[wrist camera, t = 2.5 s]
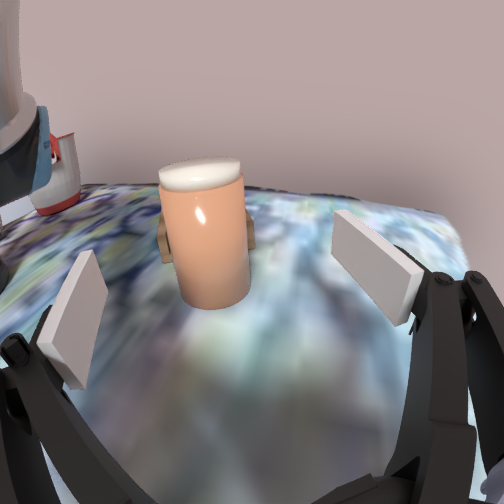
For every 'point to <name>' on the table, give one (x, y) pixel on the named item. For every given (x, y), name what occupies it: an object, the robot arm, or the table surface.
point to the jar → (207, 230)
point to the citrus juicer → (59, 178)
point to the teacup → (0, 225)
